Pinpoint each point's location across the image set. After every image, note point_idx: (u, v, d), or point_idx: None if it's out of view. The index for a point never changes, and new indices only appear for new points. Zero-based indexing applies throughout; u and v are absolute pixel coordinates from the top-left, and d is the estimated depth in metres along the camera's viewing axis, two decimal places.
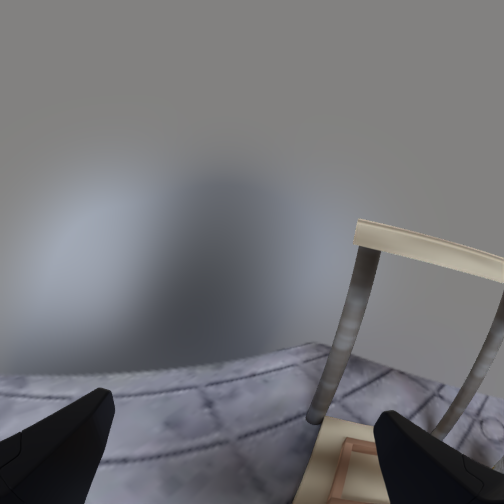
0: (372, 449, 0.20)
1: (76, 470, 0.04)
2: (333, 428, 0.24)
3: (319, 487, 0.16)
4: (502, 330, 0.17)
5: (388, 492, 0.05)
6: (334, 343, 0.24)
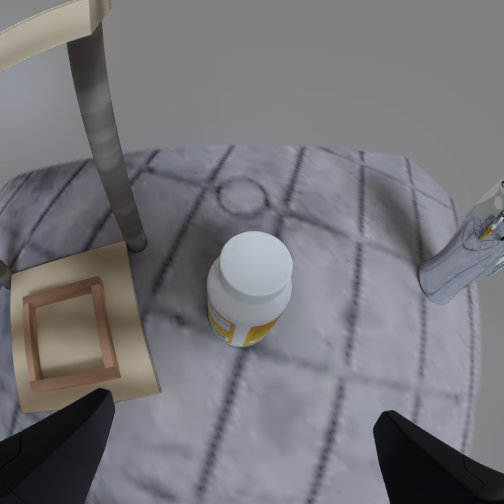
0: (49, 299, 0.19)
1: (76, 470, 0.04)
2: (19, 286, 0.20)
3: (26, 368, 0.16)
4: (89, 102, 0.11)
5: (388, 492, 0.05)
6: None
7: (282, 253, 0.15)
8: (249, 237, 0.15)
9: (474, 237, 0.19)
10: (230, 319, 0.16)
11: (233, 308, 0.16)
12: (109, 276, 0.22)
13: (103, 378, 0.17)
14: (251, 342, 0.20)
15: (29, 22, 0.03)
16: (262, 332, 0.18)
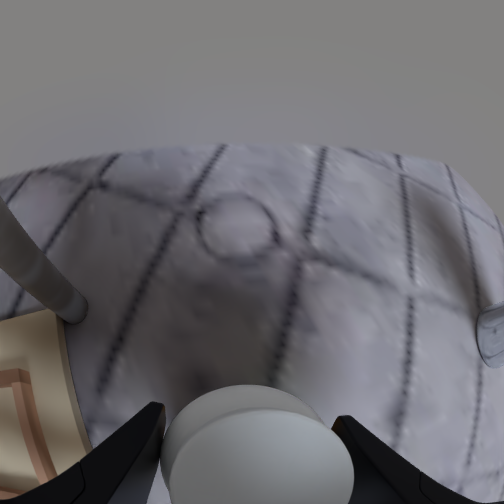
0: None
1: (138, 491, 0.04)
2: None
3: None
4: None
5: None
6: None
7: (333, 462, 0.04)
8: (246, 432, 0.05)
9: None
10: None
11: None
12: (36, 364, 0.11)
13: None
14: None
15: None
16: None
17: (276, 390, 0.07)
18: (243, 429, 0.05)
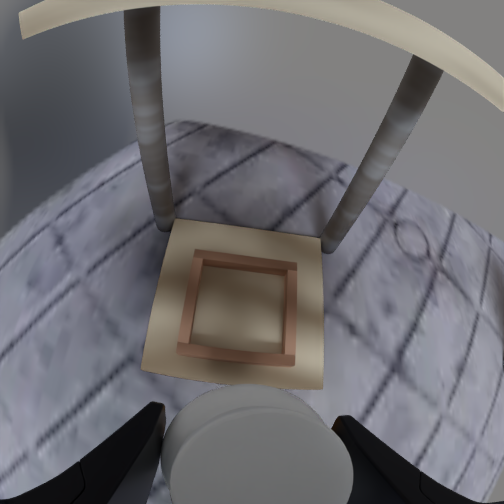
0: (230, 264, 0.23)
1: (138, 491, 0.04)
2: (184, 234, 0.25)
3: (169, 324, 0.20)
4: (406, 121, 0.13)
5: None
6: (137, 137, 0.17)
7: (332, 461, 0.04)
8: (246, 431, 0.05)
9: None
10: None
11: None
12: (301, 266, 0.24)
13: (280, 363, 0.19)
14: None
15: None
16: None
17: (276, 389, 0.07)
18: (243, 428, 0.05)
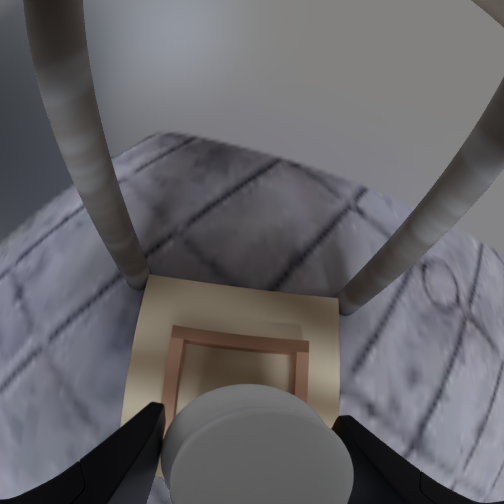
0: (221, 345, 0.16)
1: (138, 492, 0.04)
2: (160, 298, 0.18)
3: None
4: (494, 168, 0.07)
5: None
6: None
7: (332, 462, 0.04)
8: (246, 432, 0.05)
9: None
10: None
11: None
12: (313, 340, 0.18)
13: None
14: None
15: None
16: None
17: (276, 389, 0.07)
18: (243, 428, 0.05)
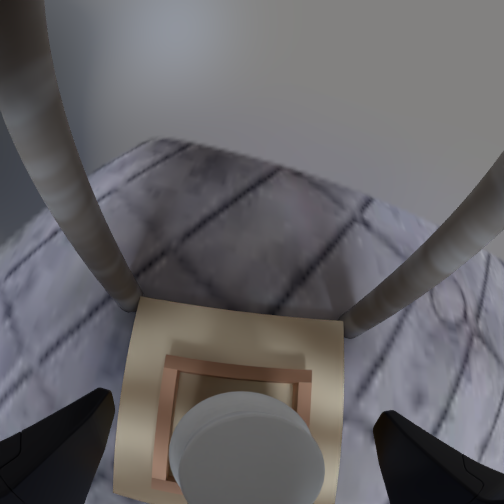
0: (217, 375, 0.15)
1: (76, 470, 0.04)
2: (153, 323, 0.17)
3: (140, 448, 0.12)
4: None
5: (388, 492, 0.05)
6: None
7: (307, 456, 0.06)
8: (238, 431, 0.06)
9: None
10: None
11: None
12: (316, 367, 0.16)
13: None
14: None
15: None
16: None
17: (265, 396, 0.09)
18: (236, 428, 0.06)
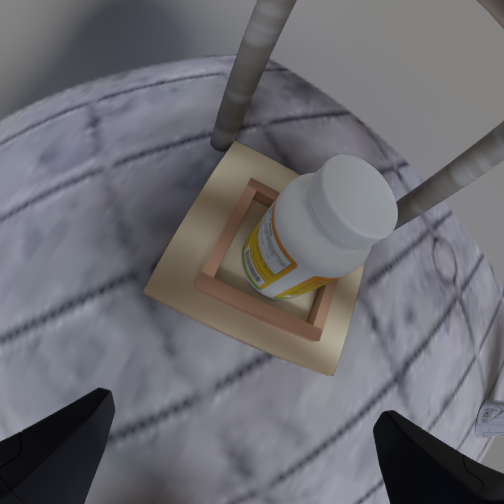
0: None
1: (76, 470, 0.04)
2: (240, 160, 0.21)
3: (195, 249, 0.18)
4: None
5: (388, 492, 0.05)
6: (244, 35, 0.13)
7: (389, 198, 0.11)
8: (358, 163, 0.11)
9: None
10: (296, 257, 0.12)
11: (308, 242, 0.11)
12: None
13: (305, 334, 0.17)
14: (286, 296, 0.17)
15: None
16: (312, 288, 0.15)
17: None
18: (357, 162, 0.11)
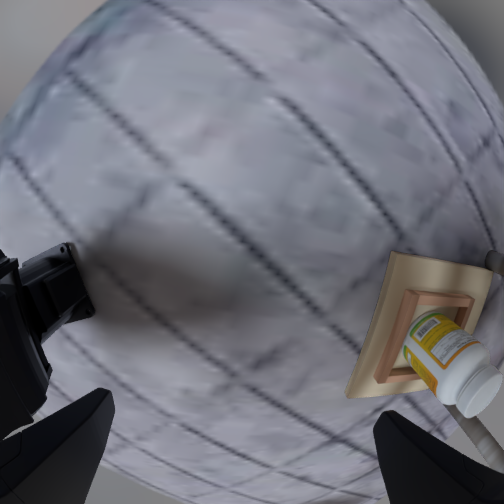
0: None
1: (76, 470, 0.04)
2: (482, 282, 0.20)
3: (428, 279, 0.19)
4: None
5: (388, 492, 0.05)
6: None
7: (480, 409, 0.12)
8: (497, 387, 0.11)
9: None
10: (450, 369, 0.14)
11: (459, 374, 0.13)
12: None
13: (382, 374, 0.20)
14: (408, 355, 0.19)
15: None
16: (421, 374, 0.17)
17: None
18: (498, 386, 0.11)
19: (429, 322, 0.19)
